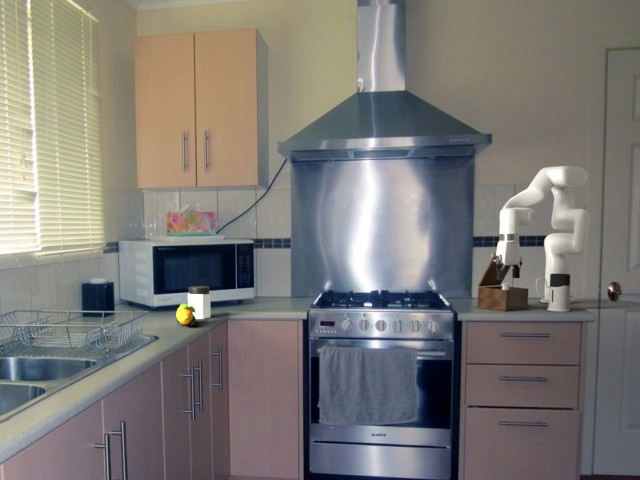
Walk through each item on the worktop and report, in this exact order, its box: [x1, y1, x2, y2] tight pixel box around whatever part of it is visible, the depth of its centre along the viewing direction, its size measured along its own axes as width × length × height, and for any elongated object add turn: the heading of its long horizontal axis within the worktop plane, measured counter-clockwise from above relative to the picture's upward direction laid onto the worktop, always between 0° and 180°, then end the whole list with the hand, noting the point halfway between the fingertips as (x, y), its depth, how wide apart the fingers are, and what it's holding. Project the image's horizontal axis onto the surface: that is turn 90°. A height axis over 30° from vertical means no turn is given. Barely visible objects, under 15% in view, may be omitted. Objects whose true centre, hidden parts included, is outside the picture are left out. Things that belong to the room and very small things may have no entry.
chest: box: [477, 285, 529, 312], centre depth 279 cm, size 15×14×9 cm
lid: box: [477, 252, 512, 288], centre depth 282 cm, size 16×14×5 cm
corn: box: [175, 303, 197, 326], centre depth 237 cm, size 7×8×20 cm
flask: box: [501, 282, 511, 290], centre depth 277 cm, size 7×7×10 cm
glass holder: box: [535, 273, 571, 313], centre depth 272 cm, size 9×14×15 cm, turn 89°
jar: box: [187, 285, 212, 320], centre depth 257 cm, size 9×8×12 cm
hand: (508, 278), depth 277 cm, fingers open, 9 cm apart
